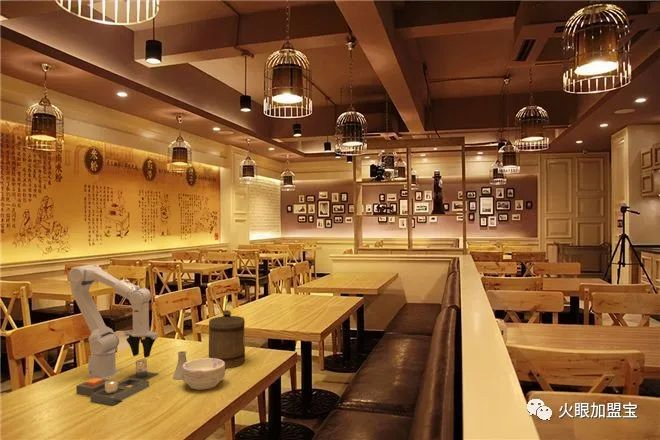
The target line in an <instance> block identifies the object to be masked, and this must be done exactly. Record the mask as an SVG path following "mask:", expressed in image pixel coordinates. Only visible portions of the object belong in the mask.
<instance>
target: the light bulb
mask: <svg viewBox="0 0 660 440" xmlns="http://www.w3.org/2000/svg"><path fill="white" fill-rule="evenodd" d="M107 380H108V381H106V382H105V395H107V396H113V395H115V394H117V393H118V382H119V380H118V379H107Z"/></svg>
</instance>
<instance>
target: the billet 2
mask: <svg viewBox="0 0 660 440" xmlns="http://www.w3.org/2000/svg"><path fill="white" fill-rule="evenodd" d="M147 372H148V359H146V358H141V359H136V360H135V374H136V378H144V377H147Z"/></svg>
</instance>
